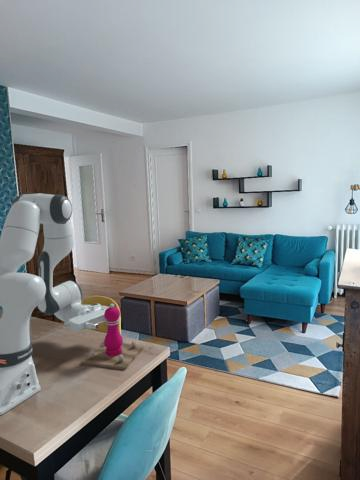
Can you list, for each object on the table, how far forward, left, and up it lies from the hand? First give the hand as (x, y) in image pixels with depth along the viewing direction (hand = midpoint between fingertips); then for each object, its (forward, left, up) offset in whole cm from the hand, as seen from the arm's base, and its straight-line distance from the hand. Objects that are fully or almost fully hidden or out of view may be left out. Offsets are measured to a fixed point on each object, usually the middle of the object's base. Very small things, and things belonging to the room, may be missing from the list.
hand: (105, 322), depth 136 cm
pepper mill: (-1, -4, -12) cm, 12 cm away
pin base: (-1, -3, -13) cm, 13 cm away
